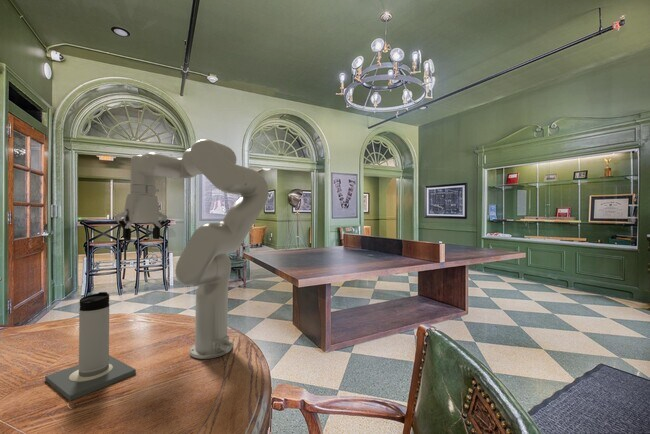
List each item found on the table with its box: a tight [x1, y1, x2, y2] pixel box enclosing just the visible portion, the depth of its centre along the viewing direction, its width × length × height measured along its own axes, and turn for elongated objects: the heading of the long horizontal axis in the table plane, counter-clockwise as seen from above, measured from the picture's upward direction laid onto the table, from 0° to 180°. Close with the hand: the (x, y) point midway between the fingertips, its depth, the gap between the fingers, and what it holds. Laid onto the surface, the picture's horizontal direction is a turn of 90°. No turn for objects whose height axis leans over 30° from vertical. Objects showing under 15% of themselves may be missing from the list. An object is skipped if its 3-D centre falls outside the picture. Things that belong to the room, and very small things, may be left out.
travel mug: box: [78, 291, 110, 377], centre depth 77 cm, size 6×7×20 cm
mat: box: [44, 354, 137, 402], centre depth 77 cm, size 16×14×1 cm
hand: (142, 239), depth 103 cm, fingers open, 9 cm apart
